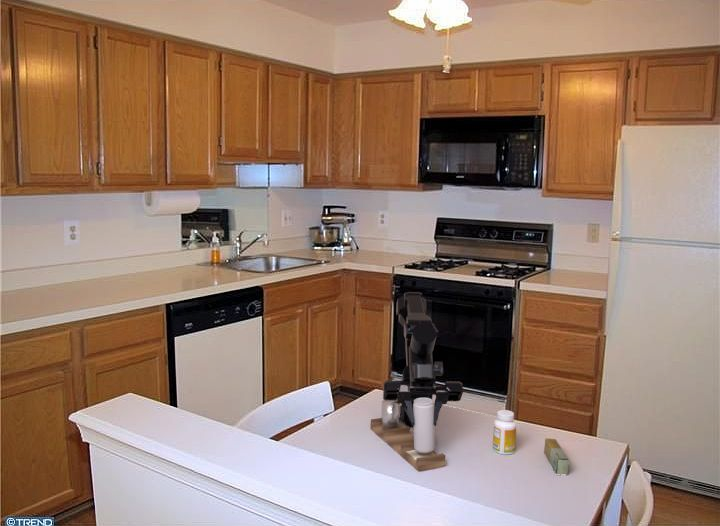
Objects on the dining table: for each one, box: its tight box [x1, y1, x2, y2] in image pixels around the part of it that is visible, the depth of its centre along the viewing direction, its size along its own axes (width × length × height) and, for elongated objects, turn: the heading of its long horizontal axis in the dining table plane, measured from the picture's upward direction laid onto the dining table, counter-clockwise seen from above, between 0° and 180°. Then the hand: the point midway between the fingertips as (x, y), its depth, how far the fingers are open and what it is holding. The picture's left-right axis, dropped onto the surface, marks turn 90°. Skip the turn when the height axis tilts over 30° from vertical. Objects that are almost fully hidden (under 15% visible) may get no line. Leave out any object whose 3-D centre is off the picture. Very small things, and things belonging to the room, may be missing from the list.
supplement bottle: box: [492, 409, 517, 456], centre depth 155 cm, size 5×5×10 cm
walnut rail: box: [370, 417, 446, 473], centre depth 157 cm, size 26×7×3 cm, turn 24°
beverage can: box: [413, 398, 435, 453], centre depth 148 cm, size 5×5×12 cm
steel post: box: [381, 399, 401, 430], centre depth 164 cm, size 5×5×7 cm
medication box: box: [543, 438, 570, 476], centre depth 149 cm, size 12×3×4 cm, turn 178°
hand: (424, 424), depth 147 cm, fingers closed on beverage can, 5 cm apart
